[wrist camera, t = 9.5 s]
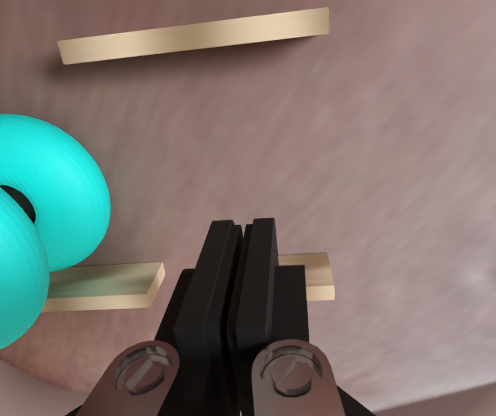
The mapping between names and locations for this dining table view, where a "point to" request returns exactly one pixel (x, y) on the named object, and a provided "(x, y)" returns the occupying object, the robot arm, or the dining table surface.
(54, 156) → the donuts
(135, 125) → the dining table surface
